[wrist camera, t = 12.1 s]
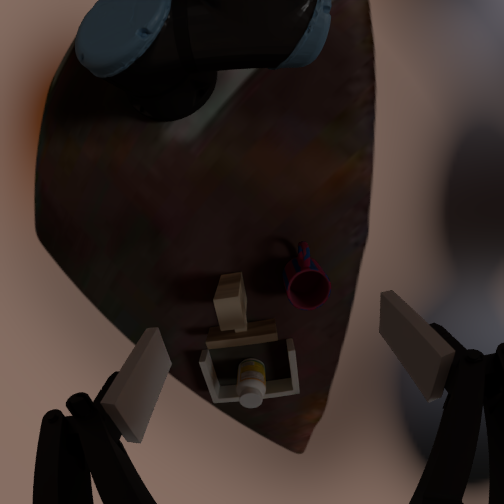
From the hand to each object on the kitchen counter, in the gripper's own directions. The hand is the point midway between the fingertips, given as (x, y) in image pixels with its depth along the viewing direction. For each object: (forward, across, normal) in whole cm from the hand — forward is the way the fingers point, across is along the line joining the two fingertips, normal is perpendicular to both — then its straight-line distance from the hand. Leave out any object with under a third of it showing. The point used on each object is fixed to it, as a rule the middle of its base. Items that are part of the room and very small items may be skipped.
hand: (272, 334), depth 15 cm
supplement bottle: (+31, -6, -27) cm, 41 cm away
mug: (+31, +6, -7) cm, 32 cm away
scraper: (+31, -6, -12) cm, 34 cm away
